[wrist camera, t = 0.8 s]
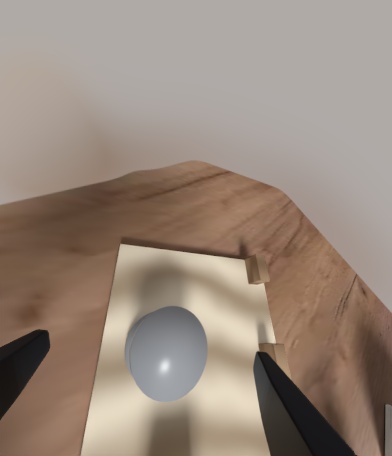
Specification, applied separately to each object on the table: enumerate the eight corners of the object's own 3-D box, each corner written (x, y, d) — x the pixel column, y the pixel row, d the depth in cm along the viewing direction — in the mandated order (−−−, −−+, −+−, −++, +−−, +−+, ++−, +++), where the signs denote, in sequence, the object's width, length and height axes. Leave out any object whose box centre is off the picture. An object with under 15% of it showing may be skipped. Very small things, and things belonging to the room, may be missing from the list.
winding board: (296, 492, 18) (334, 524, 15) (51, 611, 11) (30, 717, 8) (254, 264, 29) (271, 256, 26) (119, 247, 22) (121, 234, 19)
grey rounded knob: (186, 380, 17) (209, 394, 13) (119, 389, 15) (123, 410, 11) (186, 311, 20) (205, 306, 16) (129, 311, 18) (136, 305, 14)
